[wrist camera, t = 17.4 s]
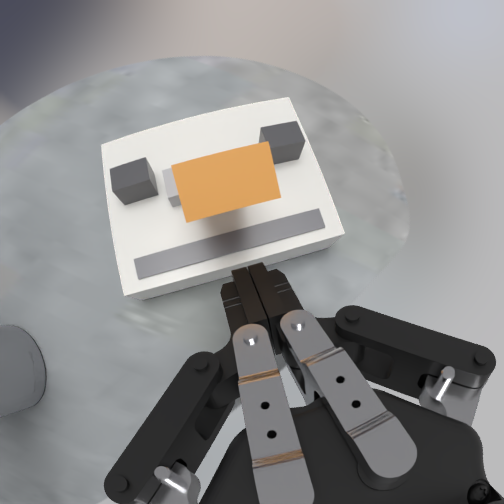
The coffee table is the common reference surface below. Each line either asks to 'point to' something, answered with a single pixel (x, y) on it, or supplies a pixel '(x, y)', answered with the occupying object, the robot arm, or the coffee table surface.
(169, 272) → the white slotted plate
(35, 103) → the coffee table surface
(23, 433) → the coffee table surface
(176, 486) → the robot arm
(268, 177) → the breaker handle
